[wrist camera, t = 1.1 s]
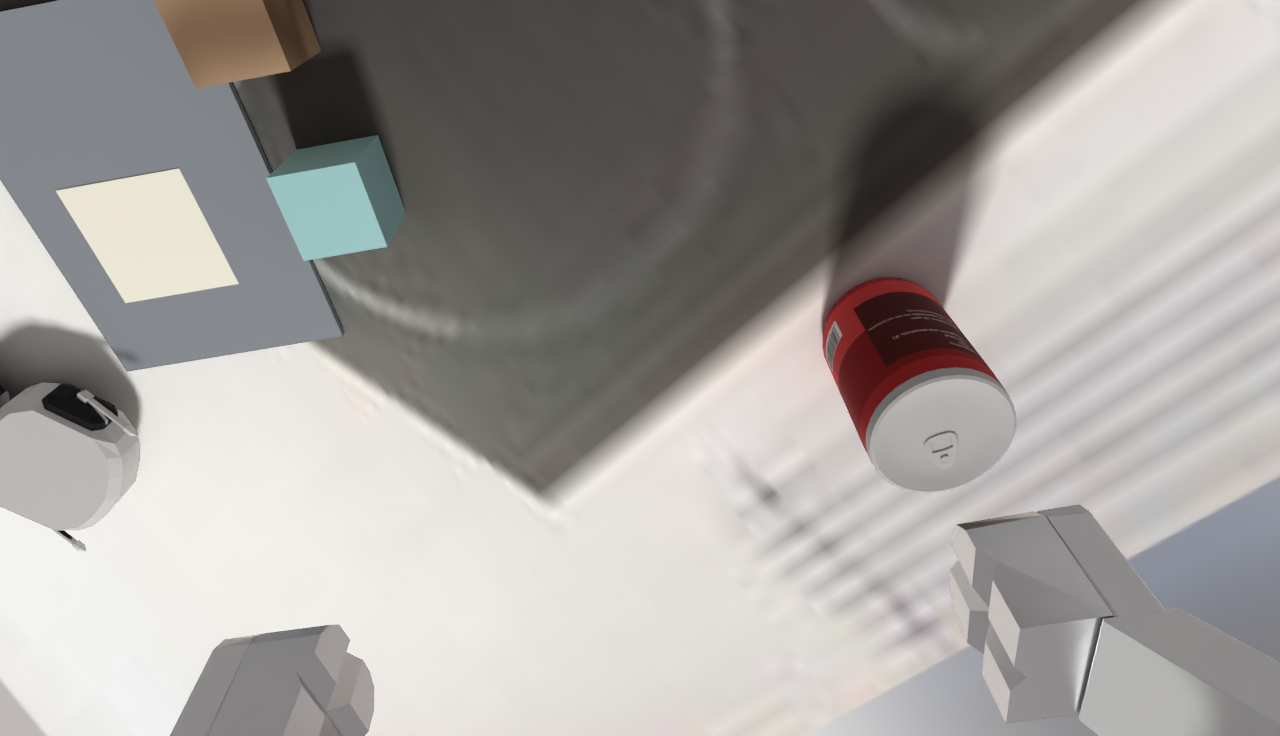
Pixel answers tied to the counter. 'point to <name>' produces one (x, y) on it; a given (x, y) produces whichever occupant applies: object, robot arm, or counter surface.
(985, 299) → the counter surface
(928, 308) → the canned food
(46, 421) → the robot toy
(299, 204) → the teal block
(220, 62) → the walnut block
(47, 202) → the mat
